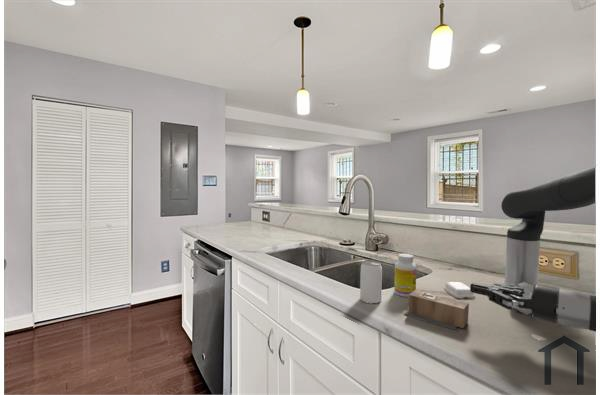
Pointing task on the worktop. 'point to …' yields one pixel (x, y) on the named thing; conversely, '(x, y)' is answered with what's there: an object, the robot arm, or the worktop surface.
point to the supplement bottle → (405, 275)
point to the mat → (430, 320)
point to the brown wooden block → (439, 308)
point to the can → (371, 281)
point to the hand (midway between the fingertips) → (471, 287)
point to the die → (528, 287)
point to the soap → (458, 290)
